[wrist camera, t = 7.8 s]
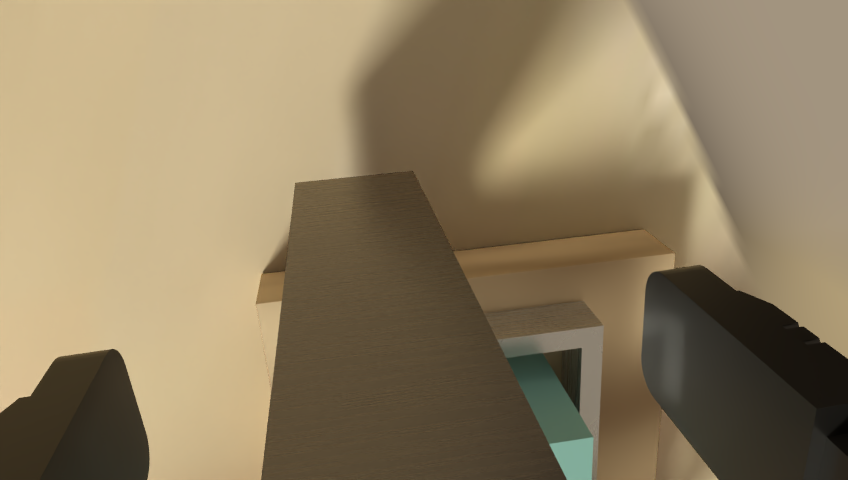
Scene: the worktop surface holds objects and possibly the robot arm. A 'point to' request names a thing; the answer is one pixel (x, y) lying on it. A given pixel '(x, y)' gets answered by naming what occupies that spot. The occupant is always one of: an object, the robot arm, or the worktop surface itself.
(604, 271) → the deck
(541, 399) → the block
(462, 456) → the grey angular piece
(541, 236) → the worktop surface
